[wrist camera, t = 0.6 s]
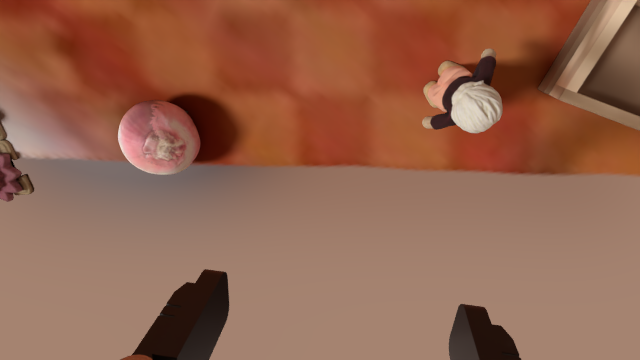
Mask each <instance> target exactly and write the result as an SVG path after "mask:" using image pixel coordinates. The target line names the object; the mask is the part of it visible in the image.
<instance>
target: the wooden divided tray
mask: <svg viewBox="0 0 640 360" xmlns="http://www.w3.org/2000/svg"><path fill="white" fill-rule="evenodd" d="M538 90H540V91H542V92H543V93H546V94H549V95H551V96H553V97H554V98H556V99H558V100H561V101H563V102H566V103H569V104H571V105H574V106H576V107H579V108H582V109H584V110H587V111H590V112H592V113H595V114H597V115H600V116H603V117H605V118H608V119H611V120H613V121H616V122H618V123H621V124H624V125H626V126H629V127H632V128H634V129H637V130H639V131H640V0H591V1H590V3H589V5H588V6H587V8H586V10H585V11H584V13H583V15H582V16H581V18H580V19H579V21H578V23H577V24H576V26H575V28H574V29H573V31H572V33H571V34H570V36H569V38H568V39H567V41H566V43H565V44H564V46H563V48H562V49H561V51H560V52H559V54H558V56H557V57H556V59H555V61H554V62H553V64H552V66H551V67H550V69H549V71H548V72H547V74H546V76H545V77H544V79H543V81H542V82H541V84H540V85H539V87H538Z"/></svg>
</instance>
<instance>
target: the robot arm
mask: <svg viewBox="0 0 640 360" xmlns="http://www.w3.org/2000/svg"><path fill="white" fill-rule="evenodd" d="M228 294H229V293H228V279H227V273H226V272H221V271H214V270H204V271H203V272H202V273H201V275H200V277H199V278H198V280H197V281H196V283H189V282H187V283H186V284H184V285H183V286H182V287H180V288H179V289H178V290H176V291H175V292H174V293H173V295H172V297H171V298H170V299H169V301H168V302H167V305H166V306H165V307H164V308H163V310H162V311H161V313H160V316H158V317H157V319H156V320H155V322H154V323H153V325H152V326H151V328H150V329H149V331H148V332H147V334H146V335H145V337H144V338H143V340H142V341H141V343H140V344H139V346H138V347H137V349H136V350H135V352H134V353H133V354H132V355H131V356H128V357H125V358H123V359H121V360H209V358H210V356H211V354H212V352H213V349H214V347H215V345H216V343H217V341H218V338H219V336H220V334H221V332H222V329H223V327H224V325H225V323H226V320H227V316H228V311H229V295H228ZM449 355H450V360H521V358H519V353H518V351H517V348H516V346H515V343H514V341H513V339H512V338H511V337H510V336H509V334H508V333H507V332H506V331H505V330H504V329H503V327H502V326H499V325H492V324H491V321H490V319H489V316H488V313H487V310H486V309H485V308H484V307H480V306H472V305H465V304H460V306H459V307H458V310H457V314H456V317H455V321H454V324H453V327H452V331H451V334H450V339H449Z"/></svg>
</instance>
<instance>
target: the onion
mask: <svg viewBox="0 0 640 360" xmlns="http://www.w3.org/2000/svg"><path fill="white" fill-rule="evenodd" d="M187 113H188V111H184V110H183V109H181V108H180V107H178V106H176V105H174V104H172V103H169V102H166V101H161V100H151V101H144V102H141V103H139V104H136V105H135V106H133V107H132V108H131V109H130V110H128V112H127V113H126V114H125V115H124V117H123V119H122V121H121V123H120V126H119V131H118V140H119V144H120V147H121V150H122V152H123V153H124V155H125V157H126V158H127V159H128V160H129V161H130V163H132V164H133V165H134V166H136V167H137V168H139V169H141V170H143V171H146V172H148V173H152V174H165V175H166V174H174V173H178V172H180V171H182V170H184V169H186V168H187V167H188V166H189V165H190V164H191V163H192V162H193V161H194V159H195V158H196V156H197V154H198V152H199V150H200V138H199V134H198V131H197V128H196V126H195V124H194V123H193V121H192V119H191V118H190V116H189V115H188V114H187Z"/></svg>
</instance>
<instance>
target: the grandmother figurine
mask: <svg viewBox="0 0 640 360" xmlns="http://www.w3.org/2000/svg"><path fill="white" fill-rule="evenodd" d="M495 57H496V52H495V51H494V50H493V49H486V50H484V51H483V53H482V56H481V60H480V62H479V64H478V65H477V67H476V69H475V72H474V73H473V74H472V73H471V72H469V71H468V70H467V69H466V68H464V67H463V66H461V65H459V64H456V63H454V62H451V61H445V62H443V63H442V64H441V65H440V67H439V69H438V74H439V76H440V78H439V80H438V82H436V81H431V82H429V83H428V84H426V86H425V87H424V94H425V96H426V98H427V100H428V102H429V103H430V105H431V106H432V107H434V108H440V109H441V110H442V111H444V112H447V113H445V114H439V115H436V116H431V117H430V116H428V117H425V118H424V119H423V121H422V124H423V126H424V127H425V128H432V129H442V128H445V127H448V126H453V125H456V124H457V125H458V126H459V127H461V128H462V129H463V130H465V131H468V132H470V133H479V132H484V131H486V130H487V129H488V128H490V127H491V126H492V125H493V124H495V123H496V122H497V121H499V119H500V117H501V115H502V100H501V97H500V95H499V93H498V92H497V91H496V90H495V89H494V88H492V87H490V83H491V79H492V76H493V72H494V69H495V66H496V60H495Z"/></svg>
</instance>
